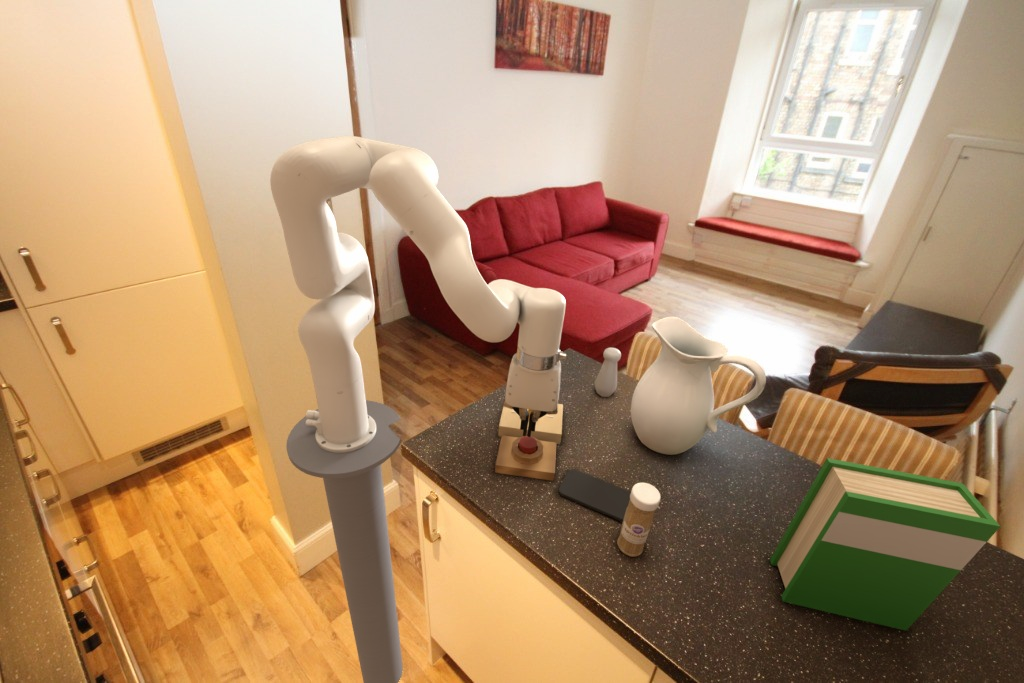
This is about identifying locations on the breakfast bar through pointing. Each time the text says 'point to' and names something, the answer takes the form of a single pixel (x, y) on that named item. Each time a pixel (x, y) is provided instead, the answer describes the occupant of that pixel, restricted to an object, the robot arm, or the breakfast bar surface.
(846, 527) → the hardback book
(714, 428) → the pitcher
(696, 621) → the breakfast bar surface
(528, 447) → the bell button
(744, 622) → the breakfast bar surface
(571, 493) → the phone
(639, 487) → the sprinkles bottle
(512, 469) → the wooden button base
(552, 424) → the dial plate
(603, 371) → the salt shaker
